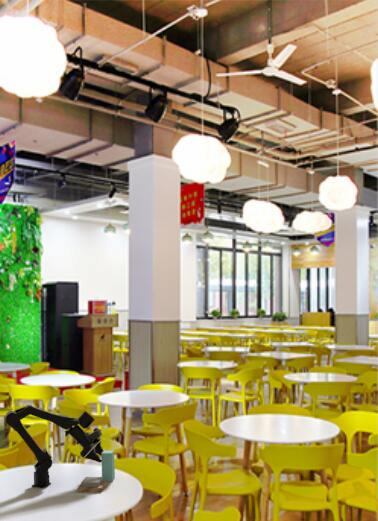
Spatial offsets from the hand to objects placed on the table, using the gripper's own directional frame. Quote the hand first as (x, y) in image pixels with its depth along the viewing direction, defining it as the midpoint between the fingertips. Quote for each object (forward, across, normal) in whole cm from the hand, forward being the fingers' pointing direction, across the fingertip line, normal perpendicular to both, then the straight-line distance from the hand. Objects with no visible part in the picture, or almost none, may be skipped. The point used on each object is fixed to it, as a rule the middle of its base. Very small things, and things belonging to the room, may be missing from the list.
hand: (103, 459), depth 276 cm
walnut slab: (+6, -12, +9) cm, 16 cm away
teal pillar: (+8, 0, +5) cm, 10 cm away
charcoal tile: (+4, -12, +7) cm, 15 cm away
